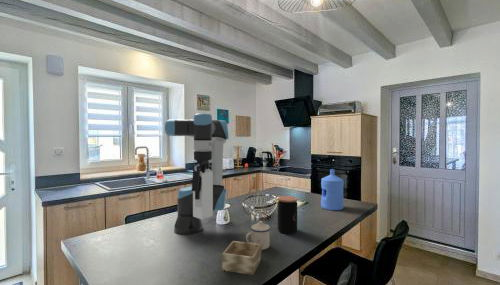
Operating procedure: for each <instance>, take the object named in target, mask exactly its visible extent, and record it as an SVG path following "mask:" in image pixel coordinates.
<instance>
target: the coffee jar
mask: <svg viewBox="0 0 500 285" xmlns="http://www.w3.org/2000/svg"><path fill="white" fill-rule="evenodd" d="M297 201H298V197H295V196H292V195H291V196H290V195H282V196H278V197H277V231H278V232H279V233H281V234H283V235H284V234H286V235H293V234H295V233H296V232H297V231H298V202H297Z"/></svg>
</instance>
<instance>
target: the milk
mask: <svg viewBox="0 0 500 285" xmlns="http://www.w3.org/2000/svg"><path fill="white" fill-rule="evenodd" d="M200 176H201V178H202V185H201V191H202V207H195V191H193V217H196V218H199V219H201V220H205V219H209V218H211V217H213V216H214V213H213V212H214V211H213V172H212V171H211V170H210V169H206V170H205V172H204V173H202V171H200Z"/></svg>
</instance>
